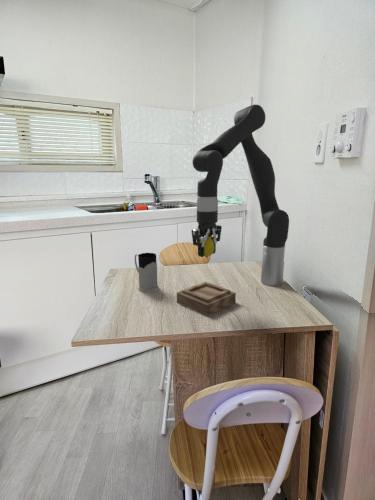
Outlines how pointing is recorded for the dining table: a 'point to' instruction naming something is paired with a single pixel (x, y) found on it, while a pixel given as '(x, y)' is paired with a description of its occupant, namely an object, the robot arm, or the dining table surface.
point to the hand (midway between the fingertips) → (206, 254)
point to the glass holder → (147, 272)
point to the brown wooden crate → (206, 298)
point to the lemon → (208, 247)
